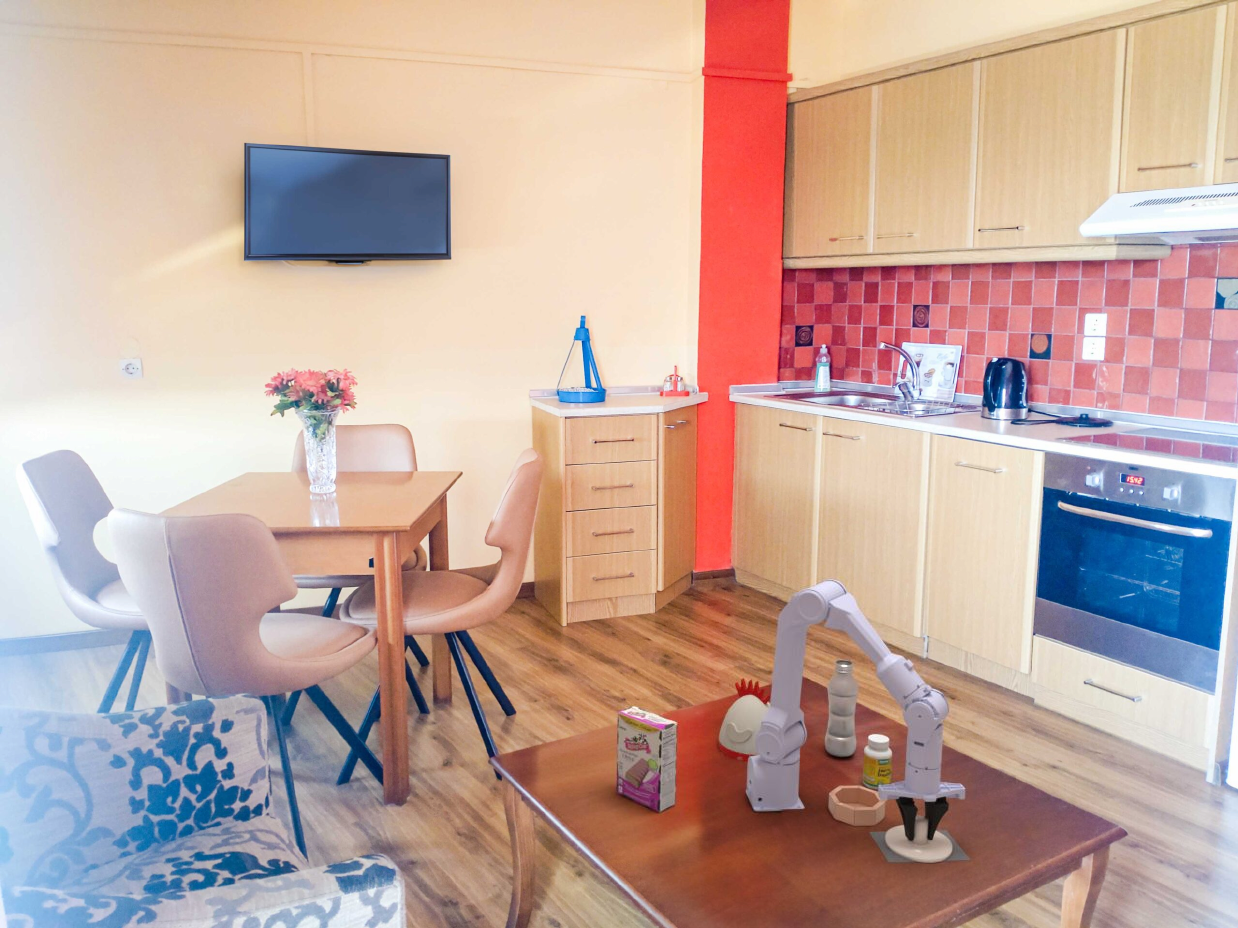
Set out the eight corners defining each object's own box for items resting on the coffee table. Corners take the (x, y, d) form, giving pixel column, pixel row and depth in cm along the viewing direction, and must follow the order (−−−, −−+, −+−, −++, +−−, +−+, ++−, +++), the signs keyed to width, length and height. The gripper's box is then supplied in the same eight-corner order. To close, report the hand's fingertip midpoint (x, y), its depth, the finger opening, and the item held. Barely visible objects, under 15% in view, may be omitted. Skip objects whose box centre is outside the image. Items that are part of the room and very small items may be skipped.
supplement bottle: (875, 775, 194) (877, 730, 193) (896, 786, 190) (899, 739, 189) (856, 782, 191) (858, 736, 190) (877, 793, 187) (880, 745, 186)
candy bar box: (614, 794, 185) (615, 711, 183) (632, 785, 189) (633, 704, 186) (659, 814, 177) (661, 728, 175) (676, 805, 181) (678, 720, 179)
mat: (888, 865, 161) (888, 862, 161) (868, 834, 171) (868, 831, 171) (970, 863, 162) (970, 859, 162) (945, 832, 172) (946, 829, 172)
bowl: (838, 828, 173) (839, 810, 173) (823, 803, 182) (824, 786, 182) (889, 827, 174) (890, 809, 173) (872, 802, 183) (873, 784, 183)
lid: (898, 863, 161) (900, 836, 160) (876, 829, 172) (877, 804, 171) (963, 861, 162) (964, 834, 161) (936, 828, 173) (938, 802, 172)
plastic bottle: (860, 752, 205) (864, 660, 203) (849, 763, 200) (853, 670, 197) (830, 744, 209) (835, 655, 206) (819, 756, 203) (823, 663, 200)
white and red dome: (738, 729, 216) (740, 664, 214) (795, 745, 208) (798, 678, 206) (706, 750, 205) (708, 682, 203) (765, 768, 197) (767, 697, 195)
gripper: (890, 773, 160) (885, 850, 162) (975, 771, 161) (969, 848, 163) (875, 755, 167) (871, 829, 169) (957, 753, 168) (952, 827, 170)
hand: (918, 837), depth 166 cm, fingers closed on lid, 3 cm apart
